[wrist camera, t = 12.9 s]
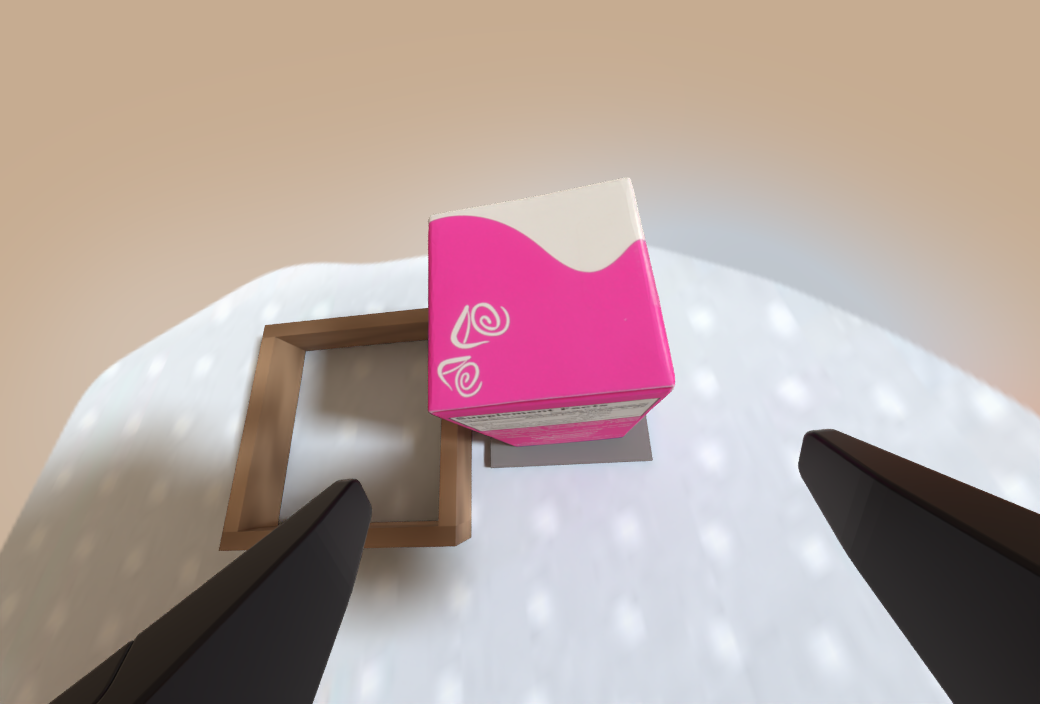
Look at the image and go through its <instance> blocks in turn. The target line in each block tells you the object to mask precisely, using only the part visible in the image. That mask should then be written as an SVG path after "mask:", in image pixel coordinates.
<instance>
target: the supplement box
mask: <svg viewBox="0 0 1040 704" xmlns="http://www.w3.org/2000/svg"><path fill="white" fill-rule="evenodd" d="M428 223H429V232H428V412H429V413H430V414H432V415H435V416H437V417H439V418H442V419H445V420H447V421H450V422H453V423H455V424H458V425H461V426H463V427H466V428H469V429H471V430H474V431H476V432H479V433H482V434H484V435H487V436H490V437H493V438H495V439H498V440H500V441H503V442H505V443H508V444H511V445H513V446H516V447H522V446H534V445H546V444H558V443H570V442H582V441H593V440H604V439H614V438H622V437H623V436H624V435H625V434H626V433H627V432H628V431H629V430H630V429H632V428H633V427H634V426H635V425H636V424H637V423H638V422H639V421H640V420H641V419H642V418H643V417H644V416H645V415H646V414H647V413H648V412H649V411H650V410H651V409H652V408H653V407H655V406H656V405H657V404H658V403H659V402H660V401H661V400H663V399H664V398H665V397H666V396H667V395H668V394H669V393H670V392H671V391H672V390H673V389H674V386H675V374H674V369H673V364H672V359H671V354H670V349H669V344H668V339H667V335H666V330H665V325H664V321H663V316H662V312H661V307H660V301H659V296H658V293H657V289H656V284H655V280H654V275H653V271H652V267H651V263H650V258H649V254H648V249H647V245H646V241H645V236H644V232H643V228H642V224H641V219H640V215H639V212H638V206H637V201H636V198H635V193H634V189H633V186H632V183H631V179H630V178H621V179H616V180H611V181H606V182H601V183H597V184H592V185H587V186H583V187H578V188H573V189H568V190H564V191H559V192H554V193H549V194H544V195H539V196H533V197H528V198H523V199H519V200H512V201H506V202H500V203H495V204H489V205H483V206H478V207H472V208H466V209H461V210H455V211H450V212H444V213H438V214H434V215H431V216H430V217H429V220H428Z"/></svg>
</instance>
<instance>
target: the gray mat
mask: <svg viewBox="0 0 1040 704" xmlns="http://www.w3.org/2000/svg"><path fill="white" fill-rule="evenodd" d="M652 460H653V459H652V452H651V446H650V439H649V433H648V426H647V419H646V415H645V416H644V417H643V418H642V419H641V420H640V421H639V422H638V423H637V424H636V425H635V426H634V427H633V428H632V429H630V430H629V431H628V432H627V433H626V434H625V435H624V436H623V437H622V438H614V439H604V440H593V441H582V442H570V443H558V444H546V445H534V446H522V447H516V446H513V445H511V444H508V443H505V442H503V441H500V440H498V439H495V438H493V437H491V468H504V467H526V466H547V465H569V464H590V463H612V462H633V461H652Z"/></svg>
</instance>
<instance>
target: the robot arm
mask: <svg viewBox="0 0 1040 704" xmlns="http://www.w3.org/2000/svg"><path fill="white" fill-rule="evenodd" d="M798 468H799V472H800V475H801V477H802V479H803V481H804V482H805V484H806V486H807V487H808V489H809V491H810V493H811V494H812V496H813V498H814V499H815V501H816V503H817V505H818V506H819V508H820V510H821V511H822V513H823V515H824V516H825V518H826V520H827V522H828V523H829V525H830V527H831V528H832V530H833V532H834V534H835V535H836V537H837V539H838V540H839V542H840V544H841V545H842V547H843V549H844V550H845V552H846V553H847V555H848V557H849V558H850V559H851V561H852V562H853V564H854V565H855V567H856V568H857V570H858V571H859V573H860V574H861V575H862V577H863V578H864V579H865V581H866V582H867V584H868V585H869V586H870V588H871V589H872V591H873V592H874V593H875V595H876V596H877V598H878V599H879V600H880V602H881V603H882V605H883V606H884V607H885V609H886V610H887V612H888V613H889V614H890V616H891V617H892V619H893V620H894V621H895V623H896V624H897V626H898V627H899V628H900V630H901V631H902V633H903V634H904V635H905V637H906V638H907V639H908V641H909V642H910V644H911V645H912V646H913V648H914V649H915V651H916V652H917V653H918V655H919V656H920V658H921V659H922V660H923V662H924V663H925V665H926V666H927V667H928V669H929V670H930V672H931V673H932V674H933V676H934V677H935V679H936V680H937V681H938V683H939V684H940V686H941V687H942V688H943V690H944V691H945V693H946V694H947V695H948V697H949V698H950V699H951V701H952V702H953V704H1040V514H1038V513H1036V512H1033V511H1031V510H1028V509H1026V508H1024V507H1021V506H1019V505H1016V504H1014V503H1012V502H1009V501H1007V500H1004V499H1002V498H999V497H997V496H995V495H992V494H990V493H987V492H985V491H982V490H980V489H978V488H975V487H973V486H970V485H968V484H965V483H963V482H961V481H958V480H956V479H953V478H951V477H948V476H946V475H944V474H941V473H939V472H936V471H934V470H931V469H929V468H927V467H924V466H922V465H919V464H917V463H914V462H912V461H910V460H907V459H905V458H902V457H900V456H897V455H895V454H893V453H890V452H888V451H885V450H883V449H881V448H878V447H876V446H873V445H871V444H868V443H866V442H864V441H861V440H859V439H856V438H854V437H851V436H849V435H847V434H844V433H842V432H839V431H837V430H834V429H821V430H812V431H808V432H807V433H806V434H805V435H804V438H803V443H802V447H801V452H800V457H799V462H798ZM371 516H372V508H371V504H370V502H369V500H368V498H367V496H366V494H365V491H364V489H363V487H362V485H361V483H360V482H359V481H358V480H357V479H346V480H339V481H336V482H335V483H333V484H332V485H331V486H330V487H328V488H327V489H326V490H324V491H323V492H322V493H321V494H319V495H318V496H317V497H315V498H314V499H313V500H312V501H310V502H309V503H308V504H306V505H305V506H304V507H303V508H301V509H300V510H299V511H297V512H296V513H295V514H293V515H292V516H291V517H290V518H288V519H287V520H286V521H284V522H283V523H282V524H281V525H279V526H278V527H277V528H275V529H274V530H273V531H272V532H270V533H269V534H268V535H266V536H265V537H264V538H263V539H261V540H260V541H259V542H257V543H256V544H255V545H254V546H252V547H251V548H250V549H248V550H247V551H246V552H245V553H243V554H242V555H241V556H239V557H238V558H237V559H236V560H234V561H233V562H232V563H230V564H229V565H228V566H226V567H225V568H224V569H223V570H221V571H220V572H219V573H217V574H216V575H215V576H214V577H212V578H211V579H210V580H208V581H207V582H206V583H205V584H203V585H202V586H201V587H199V588H198V589H197V590H196V591H194V592H193V593H192V594H190V595H189V596H188V597H187V598H185V599H184V600H183V601H181V602H180V603H179V604H178V605H176V606H175V607H174V608H172V609H171V610H170V611H169V612H167V613H166V614H165V615H163V616H162V617H161V618H159V619H158V620H157V621H156V622H154V623H153V624H152V625H150V626H149V627H148V628H147V629H145V630H144V631H143V632H141V633H140V634H139V635H138V636H137V637H136V638H135V640H134V641H130V642H128V643H127V644H126V645H125V646H123V647H122V648H121V649H119V650H118V651H117V652H116V653H114V654H113V655H112V656H110V657H109V658H108V659H107V660H105V661H104V662H103V663H101V664H100V665H99V666H98V667H96V668H95V669H94V670H92V671H91V672H90V673H88V674H87V675H86V676H84V677H83V678H82V679H80V680H79V681H78V682H77V683H75V684H74V685H73V686H71V687H70V688H69V689H67V690H66V691H65V692H63V693H62V694H61V695H59V696H58V697H57V698H56V699H54V700H53V701H52V702H50V703H49V704H313V701H314V698H315V695H316V693H317V690H318V687H319V684H320V681H321V678H322V676H323V673H324V670H325V667H326V664H327V662H328V659H329V656H330V653H331V650H332V647H333V645H334V642H335V639H336V636H337V633H338V630H339V628H340V625H341V622H342V619H343V616H344V614H345V611H346V608H347V605H348V602H349V599H350V596H351V593H352V590H353V586H354V583H355V579H356V576H357V572H358V568H359V564H360V560H361V556H362V552H363V548H364V544H365V540H366V536H367V532H368V528H369V524H370V520H371Z"/></svg>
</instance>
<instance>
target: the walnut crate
mask: <svg viewBox="0 0 1040 704" xmlns="http://www.w3.org/2000/svg"><path fill="white" fill-rule="evenodd" d="M418 340H428V308H423V309H414V310H404V311H395V312H386V313H376V314H367V315H357V316H348V317H338V318H329V319H320V320H310V321H301V322H291V323H282V324H272V325H265V328H264V333H263V338H262V342H261V347H260V352H259V357H258V362H257V367H256V372H255V377H254V381H253V386H252V391H251V396H250V401H249V406H248V411H247V416H246V420H245V425H244V430H243V435H242V440H241V445H240V450H239V455H238V459H237V464H236V469H235V474H234V479H233V484H232V489H231V494H230V498H229V503H228V508H227V513H226V518H225V523H224V528H223V533H222V537H221V542H220V547H219V551H232V550H248V549H250V548H251V547H252V546H254V545H255V544H256V543H257V542H259V541H260V540H261V539H263V538H264V537H265V536H266V535H268V534H269V533H270V532H272V531H273V530H274V529H275V528H277V527H278V526H279V525H278V520H279V514H280V508H281V501H282V495H283V489H284V483H285V477H286V470H287V464H288V458H289V452H290V446H291V439H292V433H293V427H294V421H295V415H296V408H297V402H298V396H299V390H300V384H301V377H302V371H303V365H304V359H305V353H306V351H312V350H322V349H333V348H343V347H354V346H365V345H375V344H386V343H396V342H407V341H418ZM471 459H472V430H471V429H469V428H466V427H463V426H461V425H458V424H455V423H453V422H450V421H447V420H445V419H442V422H441V455H440V488H439V521H407V522H372V523H370V524H369V528H368V532H367V536H366V540H365V544H364V548H390V547H443V546H457V545H459V544H460V543H462V542H464V541H466V540H467V539H469V538H471Z"/></svg>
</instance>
